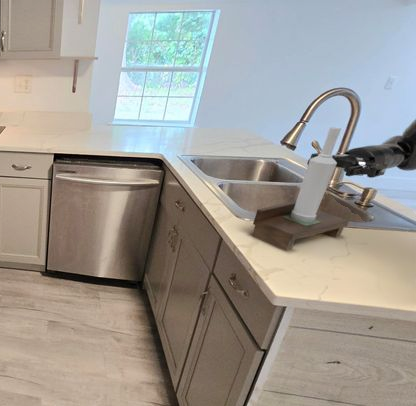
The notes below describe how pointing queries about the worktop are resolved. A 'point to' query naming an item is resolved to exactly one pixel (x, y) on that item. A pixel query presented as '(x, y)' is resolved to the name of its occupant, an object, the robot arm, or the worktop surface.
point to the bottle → (316, 180)
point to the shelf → (292, 225)
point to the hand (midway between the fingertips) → (328, 167)
